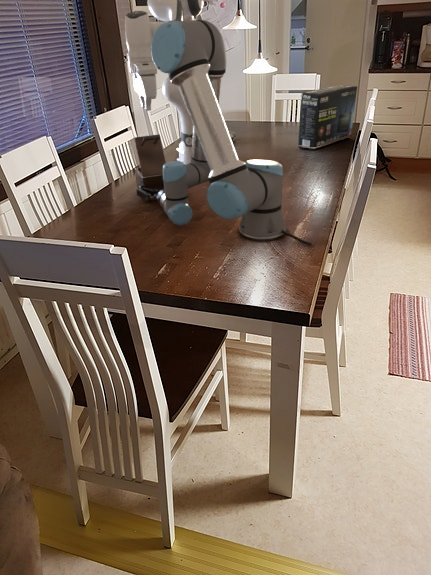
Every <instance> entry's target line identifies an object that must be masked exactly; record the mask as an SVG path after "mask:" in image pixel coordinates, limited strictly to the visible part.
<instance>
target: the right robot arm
mask: <svg viewBox="0 0 431 575" xmlns="http://www.w3.org/2000/svg"><path fill="white" fill-rule="evenodd" d="M166 22H167V21H166ZM226 49H227V48H226V44H225V40H224V37H223V35H222V33H221V31H220V30H219V28H218V27H217V26H216V25H215V24H214V23H212V22H210V21H208V20H206V19H196V20H194V21H171V22H167V23H163V24H161V25H160V26H159V27H158V28H157V29H156V31H155V32H154V35H153V37H152V43H151V55H152V59H153V62H154V64H155V66H156V67H157V70H159V71H160V72H161V73H164V74H167V76H168V77H169V78H170V81H171V83H172V84H174V85H176V86H178V87H179V89H180V92H181V94H182V97H183V100H184V102H185V105H186V108H187V110H188V113H189V115H190V118H191V121H192V123H193V139H192V155H191V163H189V164H185V163H184V162H181V161H177V160H173V161H168V162H167V161H166V163H165V164H164V166H163V181H164V189H162V190H157V189H155V190H152V189H149V188H146V186H145V185H144V183H143V182H142V181H140V186H139V188H137V187H136V195H137V197H140V198H141V199H143V200H144V199H145V200H147V202H146V203H151V202H152V201H151V200H153V199H154V200H155V201H154V202H157V204H158V205H159V207H160V208H161V209H162V211H163V212H164V213H165V214H166V215H167V217H168V219H169V221H171V222H172V223H173V224H174V225H176V226H185V225H187V224H189V223H190V222H191V220H192V219H193V210H192V208H191V206H190V205H189V203H190V202H189V189H191V188H193V187H196V186H199V185H201V184H203V183H206V182H209V186H208V188H207V190H206V191H207V193H206V200H207V203H208V206H209V207H210V209H211V210H212V211H213V213H214V214H215V215H217V217H220V218H221V219H224V220H228V221H229V220H230V221H231V220H236V219H237V218H241V220H240V222H239V226H238V232H239V235H240V236H241V237H242V238H244V239H247V240H250V241H254V242H271V241H277V240H279V239H281V238H283V237H285V235H286V236H288V237H290V238H292V239H293V240H296V241H297V242H299V243H302V244H304V245H307V246H310V247H311V246H312V245H313V242H310V241H308V240H307V241H306V240H304V239H302V238H299V237H298V236H296V235H294V234H292V233H290V232H288V231H287V223H286V221H285V216H284V214H283V210H282V200H283V183H284V169H283V165H282V164H281V163H280V162H278V161H275V160H270V159H249V160H246V161H243V160H240V159H239V157H238V154H237V151H236V148H235V146H234V143H233V139H232V140H231V137H230V135H229V132H228V131H229V130H228V127H227V124H226V121H225V119H224V116H223V113H222V109H221V108H220V98H221V96H220V95H221V86H222V78H223V77H224V76H225V75H226V70H227V50H226ZM145 200H144V201H145Z"/></svg>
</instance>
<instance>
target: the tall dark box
mask: <svg viewBox="0 0 431 575" xmlns="http://www.w3.org/2000/svg"><path fill="white" fill-rule="evenodd" d="M133 140H134V145H135V150H136V154H137V159H138V163H139V167H140V168H141V172H142V177H145V176H152V175H159V174H163V166H164V164H165V163H167V161H166V158H165V153H164V147H163V144H162V139H161V135H160V133H159V134H158V133H157V134H151V135H143V136H135V137H133Z"/></svg>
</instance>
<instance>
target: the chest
mask: <svg viewBox="0 0 431 575" xmlns="http://www.w3.org/2000/svg"><path fill="white" fill-rule="evenodd" d="M134 174H135V183H136V189H137V188H139V186H140V181H142V182H143V183H144V185H145V186H146V188H149V189H152V190H155V189H157V190H162V189H164V181H163V174H159V175H152V176H145V177H142V172H141V168H140V166H139V167H134ZM143 201H144V202H145V203H148V202H147V200H145V199H143ZM151 202H156V201H155V200H154V199H153V200H151Z"/></svg>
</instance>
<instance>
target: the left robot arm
mask: <svg viewBox="0 0 431 575" xmlns="http://www.w3.org/2000/svg"><path fill="white" fill-rule="evenodd" d="M146 2H147V8H148V10H149V12H150V14H151V15H152V16H153V17H154V19H156V20H158V21H151V20H150V17H149V14H148V12H147V11H144V10H134V11H130V12H128V13H127V14H126V15H125V16H124V34H125V35H124V36H125V44H126V47H127V60H128V62H127V63H128V71H129V73H130V74H132V83H133V90H134V92H135V93H137V94H138V96H139V100H140V104H141V108H143V109H145V110H146V111H147V112H149V111H152V100H155V99H157V95H158V94H157V93H158V87H157V86H158V85H157V76H156V75H157V74H158V68H157V67H156V66H155V64H154V62H153V59H152V55H151V43H152V37H153V35H154V32H155V31H156V29H157V28H158V27H159V26H160V25H161V24H163V23H167V22H171V21H194V20H198V17H199V15H200V14H201V13H202V11H203V7H204V0H147V1H146ZM161 92H162V94H163V96H164V98H165V99H166V100H167V101H168V102H170V103H171V104H172V105H173V106H174V107H175V109H176V111H177V112H178V115H179V120H180V129H181V130H180V140H181V141H180V143H178V147H177V148H176V151H178V157H177V158H176V161H181V162H184V163H185V164H189V163H191V155H192V139H193V123H192V121H191V118H190V115H189V113H188V110H187V108H186V105H185V102H184V100H183V97H182V94H181V92H180V89H179V87H178V86H176V85H174V84H172V83H171V81H170V78H169V76H168V77H165V78H164V80H163V82H162V86H161Z"/></svg>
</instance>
